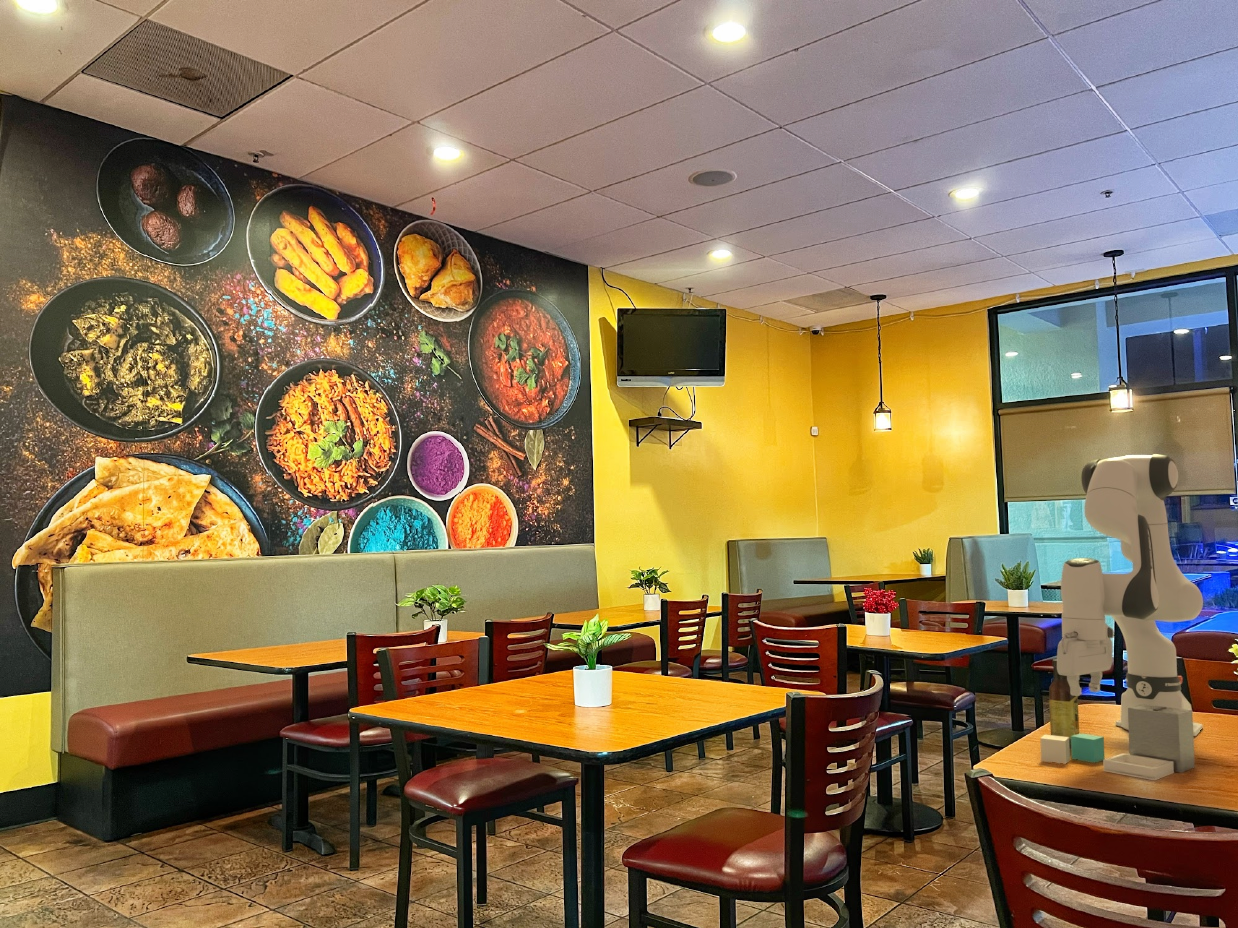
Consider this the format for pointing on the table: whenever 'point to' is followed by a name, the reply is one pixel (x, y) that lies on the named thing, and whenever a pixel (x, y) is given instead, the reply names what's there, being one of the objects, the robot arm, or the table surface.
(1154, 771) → the tray
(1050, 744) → the cream block
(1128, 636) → the robot arm
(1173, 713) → the dispenser
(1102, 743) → the teal block
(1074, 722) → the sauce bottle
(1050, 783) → the table surface
